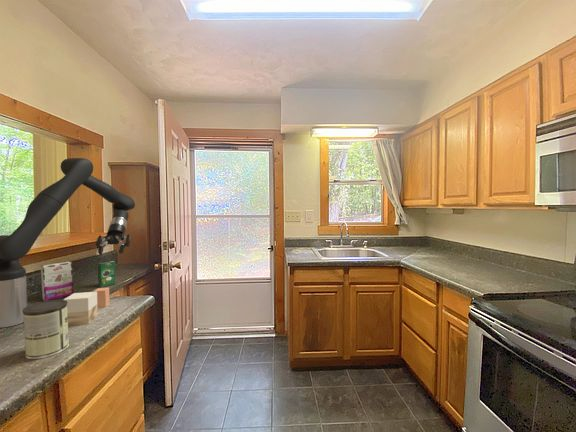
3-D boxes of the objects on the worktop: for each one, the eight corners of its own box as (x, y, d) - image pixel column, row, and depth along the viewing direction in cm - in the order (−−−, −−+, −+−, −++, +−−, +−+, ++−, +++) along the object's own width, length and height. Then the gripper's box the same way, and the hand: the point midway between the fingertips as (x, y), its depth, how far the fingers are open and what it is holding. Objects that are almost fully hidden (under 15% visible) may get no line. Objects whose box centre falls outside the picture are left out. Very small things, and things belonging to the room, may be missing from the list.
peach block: (105, 307, 122) (105, 290, 121) (94, 308, 120) (93, 291, 120) (109, 303, 126) (109, 287, 126) (98, 304, 125) (97, 288, 124)
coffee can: (21, 351, 85) (19, 306, 84) (64, 339, 93) (62, 297, 92) (28, 364, 78) (25, 314, 78) (73, 349, 86) (71, 304, 86)
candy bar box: (70, 293, 141) (69, 261, 140) (73, 295, 138) (72, 262, 137) (41, 299, 132) (40, 265, 132) (44, 301, 129) (42, 266, 128)
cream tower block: (88, 311, 104) (88, 297, 104) (63, 313, 102) (63, 299, 102) (97, 303, 112) (96, 291, 112) (74, 305, 110) (73, 293, 110)
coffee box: (113, 283, 159) (112, 260, 158) (116, 284, 157) (115, 261, 157) (98, 287, 151) (97, 263, 151) (101, 287, 150) (100, 263, 150)
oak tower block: (88, 324, 105) (88, 311, 104) (64, 326, 103) (63, 313, 102) (97, 316, 112) (97, 303, 112) (74, 318, 110) (74, 305, 110)
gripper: (99, 223, 140) (90, 249, 129) (131, 222, 143) (124, 248, 133) (104, 232, 145) (96, 258, 135) (134, 231, 149) (128, 257, 138)
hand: (110, 253), depth 134 cm, fingers open, 8 cm apart
